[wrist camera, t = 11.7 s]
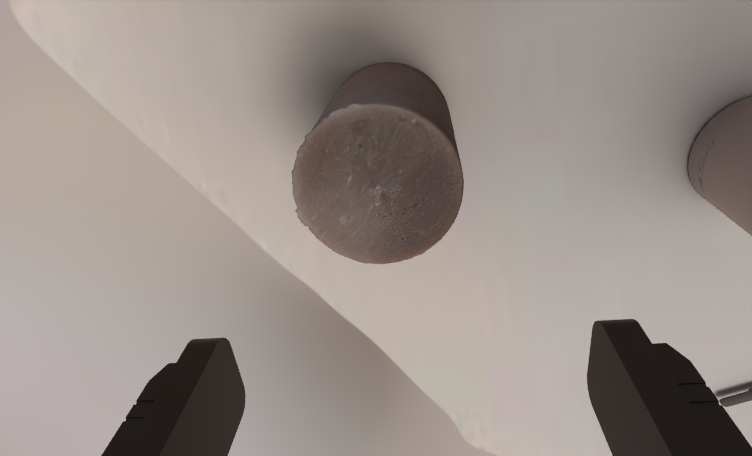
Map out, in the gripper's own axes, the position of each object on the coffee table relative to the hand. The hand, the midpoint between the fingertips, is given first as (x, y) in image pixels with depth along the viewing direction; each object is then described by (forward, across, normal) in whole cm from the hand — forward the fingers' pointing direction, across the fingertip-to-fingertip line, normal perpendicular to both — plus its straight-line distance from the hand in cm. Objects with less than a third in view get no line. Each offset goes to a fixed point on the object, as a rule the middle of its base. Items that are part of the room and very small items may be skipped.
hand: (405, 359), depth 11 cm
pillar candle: (+30, +2, +3) cm, 31 cm away
